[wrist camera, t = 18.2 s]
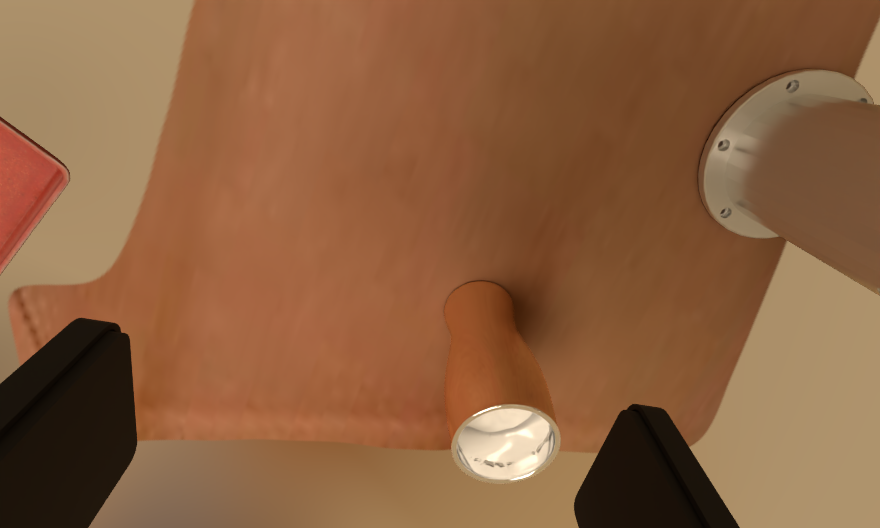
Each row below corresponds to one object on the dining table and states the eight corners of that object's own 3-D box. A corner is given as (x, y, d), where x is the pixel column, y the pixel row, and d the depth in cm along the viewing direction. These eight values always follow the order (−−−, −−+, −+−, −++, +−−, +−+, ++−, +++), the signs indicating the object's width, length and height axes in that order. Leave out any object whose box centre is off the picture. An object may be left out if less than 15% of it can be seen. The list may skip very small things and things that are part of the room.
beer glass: (422, 315, 42) (423, 454, 28) (475, 260, 40) (504, 382, 26) (481, 355, 44) (508, 501, 31) (534, 305, 42) (589, 439, 28)
